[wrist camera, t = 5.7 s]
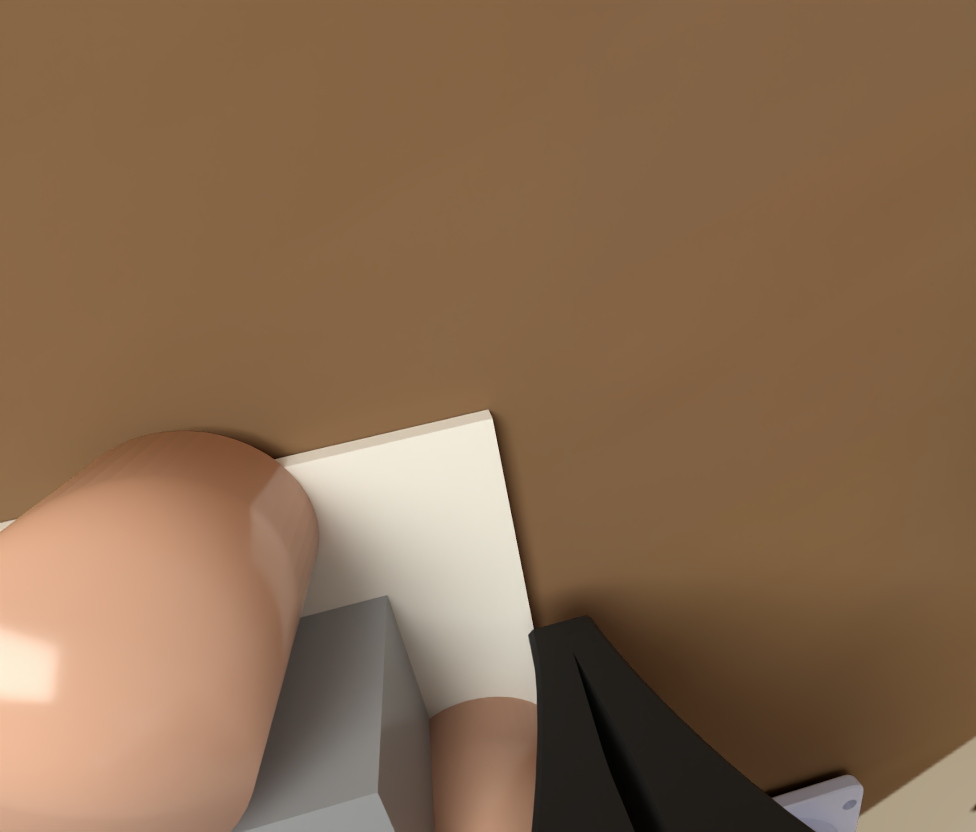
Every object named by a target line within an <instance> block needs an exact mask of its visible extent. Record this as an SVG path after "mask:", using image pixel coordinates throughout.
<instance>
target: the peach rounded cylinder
mask: <svg viewBox="0 0 976 832" xmlns="http://www.w3.org/2000/svg"><path fill="white" fill-rule="evenodd" d="M429 727H430V747H431V768H432V788H433V809H434V829H435V832H531V830H532V820H533V808H534V795H535V780H536V755H537V704H535V703H532V702H530V701H526V700H523V699H519V698H513V697H486V698H478V699H474V700H469V701H466V702H462V703H459V704H456V705H454V706H452V707H449V708H447V709H445V710H443V711H441V712H439V713H438V714H436V715H434V716H433V717H431V718H430V719H429Z"/></svg>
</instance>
